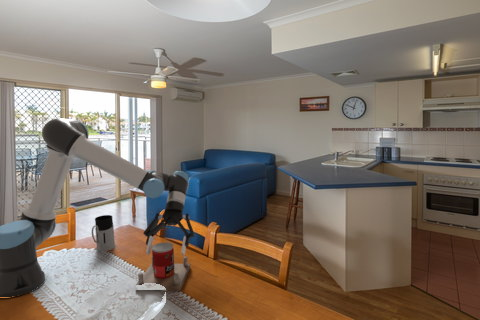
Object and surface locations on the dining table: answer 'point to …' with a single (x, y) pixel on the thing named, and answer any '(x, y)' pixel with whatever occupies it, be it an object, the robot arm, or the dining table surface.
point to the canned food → (163, 260)
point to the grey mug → (104, 233)
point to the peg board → (171, 282)
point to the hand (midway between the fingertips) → (165, 254)
